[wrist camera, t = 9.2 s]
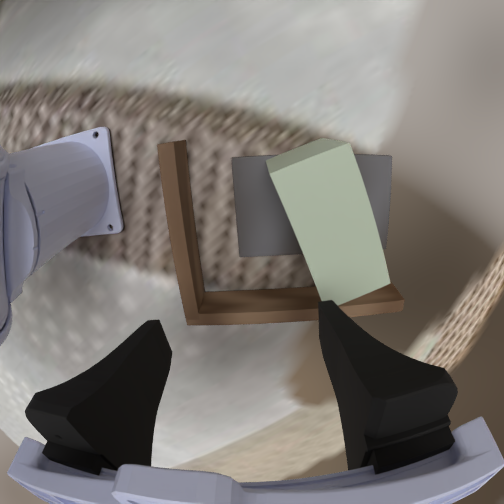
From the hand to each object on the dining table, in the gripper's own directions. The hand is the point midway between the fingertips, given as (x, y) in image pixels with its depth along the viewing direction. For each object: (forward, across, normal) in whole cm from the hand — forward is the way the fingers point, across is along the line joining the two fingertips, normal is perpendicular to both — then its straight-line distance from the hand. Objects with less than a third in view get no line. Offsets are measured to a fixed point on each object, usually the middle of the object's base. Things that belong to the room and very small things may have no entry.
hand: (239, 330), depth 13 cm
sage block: (+9, -5, -3) cm, 11 cm away
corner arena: (+9, -4, -1) cm, 10 cm away
